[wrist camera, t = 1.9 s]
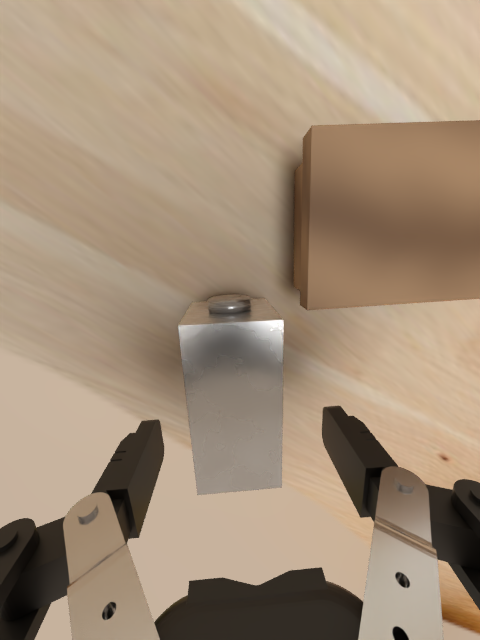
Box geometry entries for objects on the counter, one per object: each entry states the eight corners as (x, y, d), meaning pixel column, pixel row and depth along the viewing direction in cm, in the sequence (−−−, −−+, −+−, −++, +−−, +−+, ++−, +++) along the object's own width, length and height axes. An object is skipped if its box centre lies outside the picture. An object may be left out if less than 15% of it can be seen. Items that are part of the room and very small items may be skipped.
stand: (287, 160, 14) (311, 125, 10) (468, 153, 15) (556, 118, 11) (287, 296, 16) (307, 310, 12) (444, 286, 17) (510, 296, 13)
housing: (192, 292, 16) (176, 312, 11) (264, 288, 16) (283, 307, 11) (205, 433, 19) (198, 503, 14) (265, 428, 19) (281, 495, 14)
